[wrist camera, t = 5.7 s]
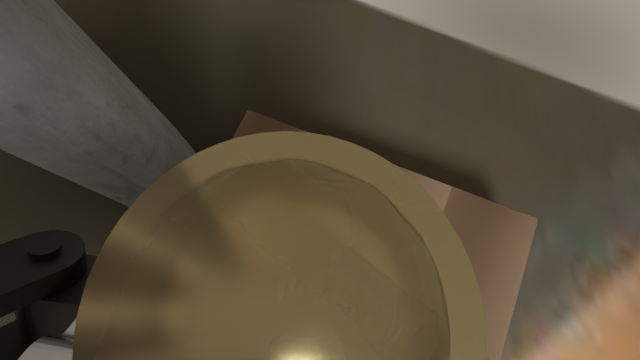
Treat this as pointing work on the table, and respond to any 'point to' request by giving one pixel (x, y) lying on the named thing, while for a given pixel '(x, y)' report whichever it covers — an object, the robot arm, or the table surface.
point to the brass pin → (282, 262)
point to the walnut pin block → (466, 238)
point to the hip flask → (77, 107)
